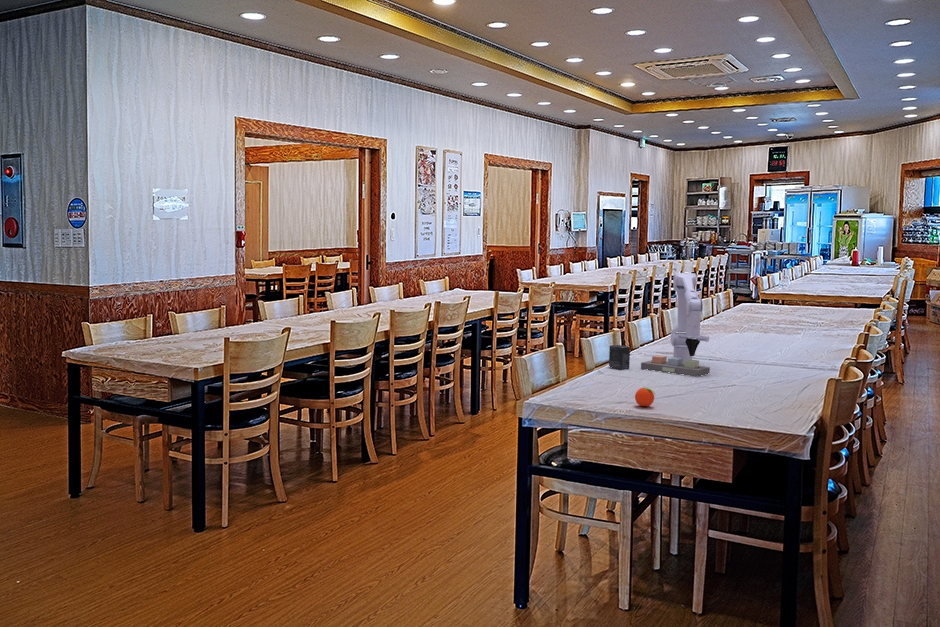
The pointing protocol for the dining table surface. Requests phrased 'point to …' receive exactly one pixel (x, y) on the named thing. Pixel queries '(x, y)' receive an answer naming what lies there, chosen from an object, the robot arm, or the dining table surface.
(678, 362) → the slate button
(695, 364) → the sage button
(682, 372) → the button panel
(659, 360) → the terracotta button
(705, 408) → the dining table surface
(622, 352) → the box
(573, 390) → the dining table surface
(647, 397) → the clementine
